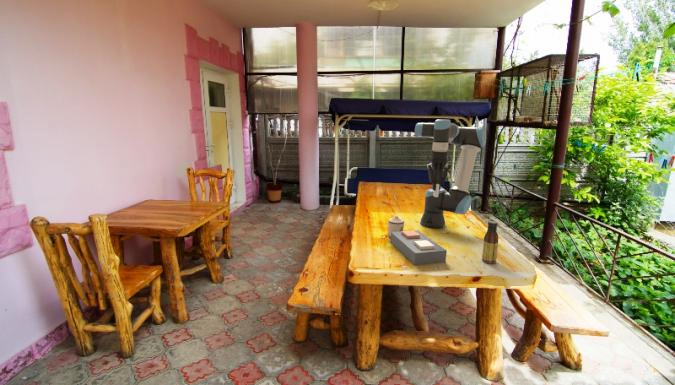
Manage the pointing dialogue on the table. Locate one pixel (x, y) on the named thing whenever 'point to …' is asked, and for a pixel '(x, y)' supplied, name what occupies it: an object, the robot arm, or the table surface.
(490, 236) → the sauce bottle
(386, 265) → the table surface
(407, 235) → the terracotta key
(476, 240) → the table surface
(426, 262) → the key box
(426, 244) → the ivory key
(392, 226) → the teacup with lid
